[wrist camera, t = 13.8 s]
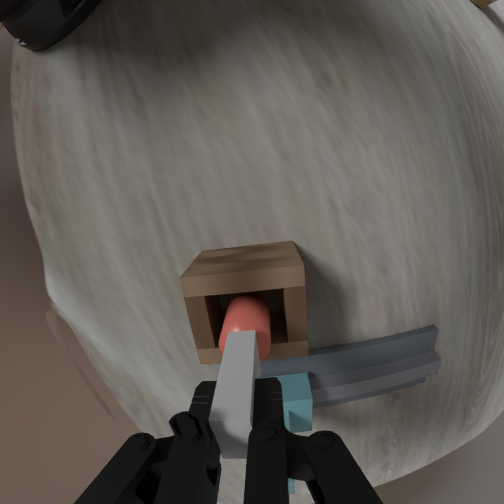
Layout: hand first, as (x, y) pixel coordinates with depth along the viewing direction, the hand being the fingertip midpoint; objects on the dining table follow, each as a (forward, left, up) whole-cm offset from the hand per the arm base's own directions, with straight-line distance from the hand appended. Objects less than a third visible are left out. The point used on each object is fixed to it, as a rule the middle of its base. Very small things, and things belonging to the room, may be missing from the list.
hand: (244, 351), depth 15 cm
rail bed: (+8, -12, -11) cm, 18 cm away
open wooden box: (0, 0, -11) cm, 11 cm away
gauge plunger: (0, 0, -5) cm, 5 cm away
